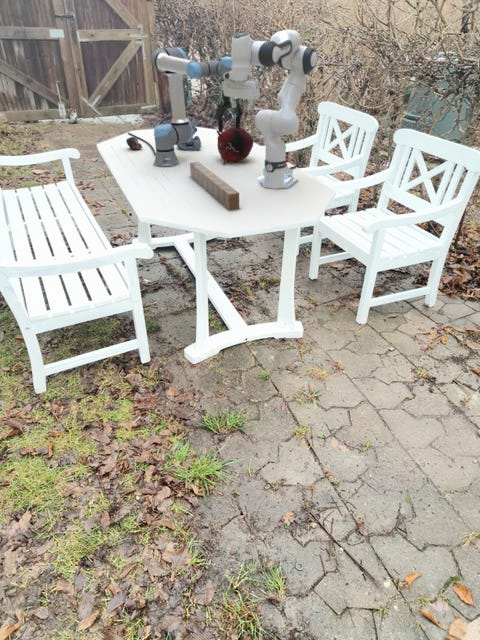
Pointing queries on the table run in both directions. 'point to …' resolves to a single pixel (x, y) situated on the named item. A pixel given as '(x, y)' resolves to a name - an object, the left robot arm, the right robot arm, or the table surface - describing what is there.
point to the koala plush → (194, 143)
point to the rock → (133, 143)
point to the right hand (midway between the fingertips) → (241, 108)
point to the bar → (215, 186)
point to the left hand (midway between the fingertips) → (229, 130)
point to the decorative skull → (234, 144)
